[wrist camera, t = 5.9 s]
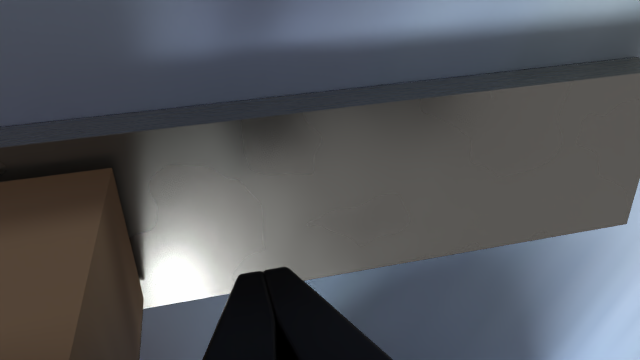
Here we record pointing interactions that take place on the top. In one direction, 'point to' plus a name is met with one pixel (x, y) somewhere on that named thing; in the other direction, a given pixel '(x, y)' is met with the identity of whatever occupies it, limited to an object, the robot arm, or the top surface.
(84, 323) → the wooden block
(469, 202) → the rail
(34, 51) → the top surface
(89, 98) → the top surface
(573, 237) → the top surface
